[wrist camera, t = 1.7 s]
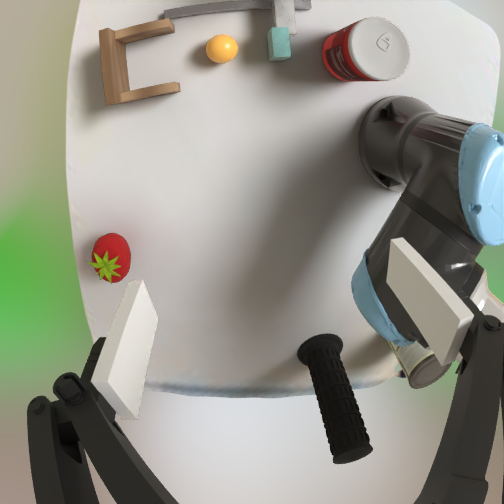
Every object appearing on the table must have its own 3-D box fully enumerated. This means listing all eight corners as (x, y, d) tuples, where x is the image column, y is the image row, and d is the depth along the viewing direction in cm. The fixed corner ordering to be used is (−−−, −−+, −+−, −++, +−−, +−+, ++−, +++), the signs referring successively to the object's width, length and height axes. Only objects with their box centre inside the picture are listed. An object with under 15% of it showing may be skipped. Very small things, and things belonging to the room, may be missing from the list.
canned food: (374, 42, 33) (415, 33, 24) (363, 89, 37) (403, 91, 27) (326, 23, 32) (357, 5, 22) (314, 72, 36) (343, 67, 26)
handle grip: (338, 326, 58) (291, 344, 60) (382, 440, 35) (319, 463, 37) (346, 355, 63) (304, 370, 64) (384, 457, 40) (330, 476, 41)
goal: (174, 24, 31) (164, 13, 25) (180, 91, 36) (172, 90, 30) (116, 38, 30) (98, 30, 25) (123, 102, 35) (106, 105, 30)
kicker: (296, -26, 28) (326, -67, 15) (306, 60, 34) (343, 47, 22) (253, -26, 27) (265, -72, 15) (261, 61, 34) (279, 45, 22)
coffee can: (431, 311, 60) (461, 354, 48) (408, 344, 64) (432, 387, 52) (400, 306, 58) (430, 354, 45) (376, 342, 62) (400, 390, 50)
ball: (236, 36, 32) (237, 30, 29) (238, 63, 34) (239, 59, 31) (205, 39, 32) (203, 33, 29) (208, 66, 34) (206, 63, 31)
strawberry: (107, 260, 47) (87, 297, 38) (102, 219, 44) (77, 250, 35) (140, 262, 48) (124, 300, 39) (137, 220, 44) (118, 252, 36)
